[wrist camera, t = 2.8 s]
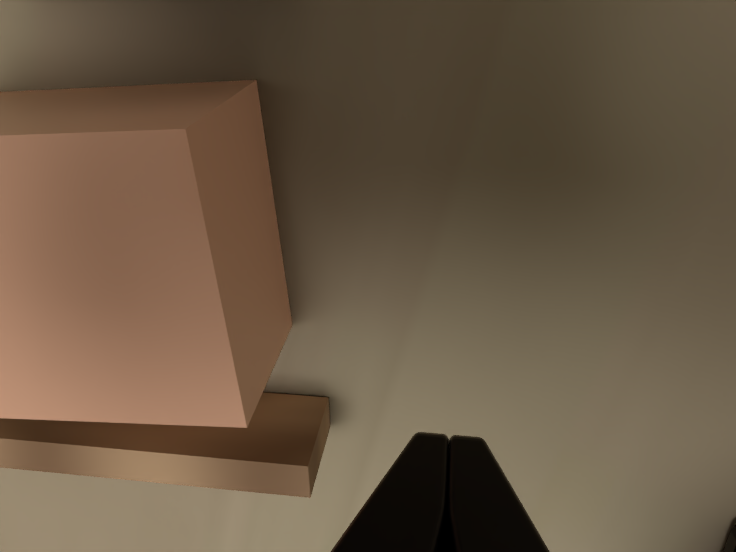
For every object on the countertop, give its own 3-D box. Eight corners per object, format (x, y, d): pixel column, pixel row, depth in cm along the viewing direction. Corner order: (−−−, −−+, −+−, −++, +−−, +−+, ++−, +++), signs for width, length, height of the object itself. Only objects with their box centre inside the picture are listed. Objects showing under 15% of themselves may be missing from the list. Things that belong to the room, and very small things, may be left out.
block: (258, 78, 13) (185, 129, 10) (294, 320, 16) (246, 427, 13) (0, 90, 14) (-150, 141, 11) (77, 318, 17) (-23, 417, 14)
